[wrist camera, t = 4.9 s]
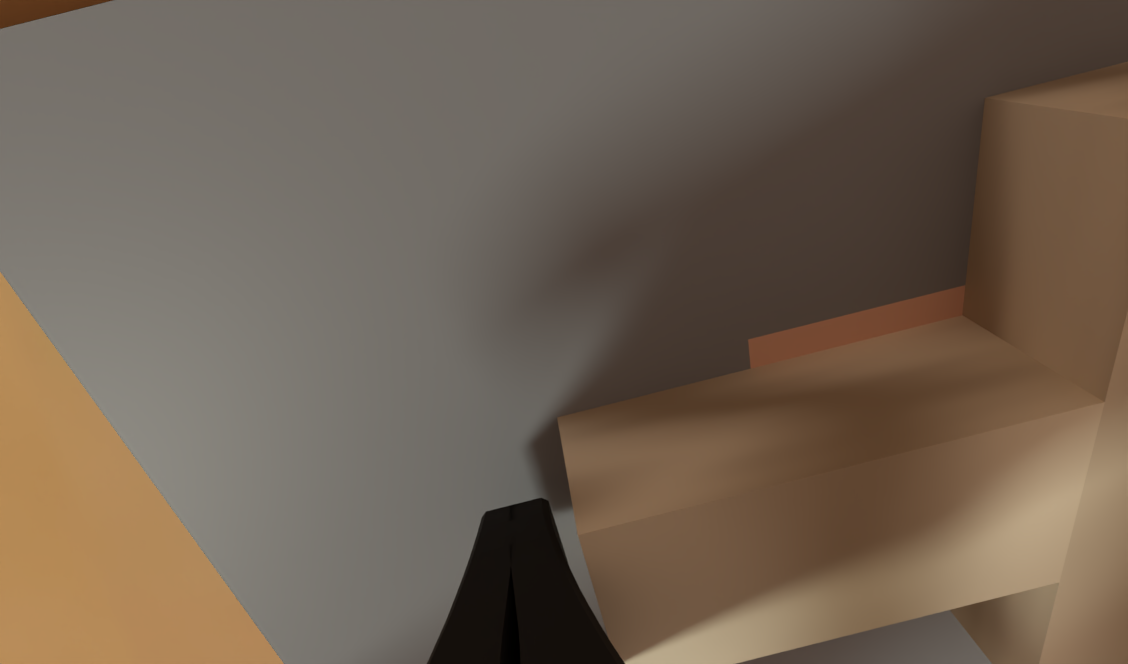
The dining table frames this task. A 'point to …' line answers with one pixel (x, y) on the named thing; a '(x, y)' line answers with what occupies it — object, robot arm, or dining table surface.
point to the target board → (478, 250)
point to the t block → (902, 443)
